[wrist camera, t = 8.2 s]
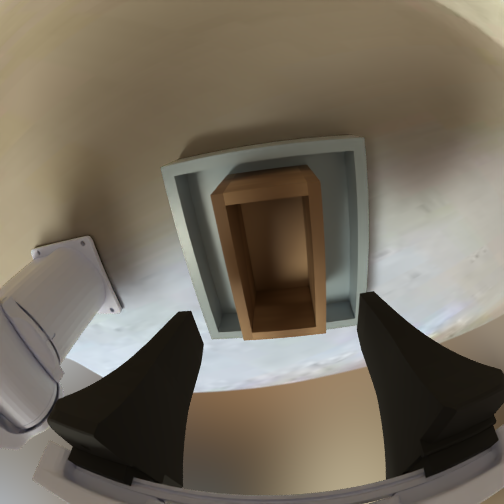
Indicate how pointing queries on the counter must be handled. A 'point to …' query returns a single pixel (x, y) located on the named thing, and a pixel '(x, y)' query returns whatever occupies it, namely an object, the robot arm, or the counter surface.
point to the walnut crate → (274, 250)
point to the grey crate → (334, 217)
